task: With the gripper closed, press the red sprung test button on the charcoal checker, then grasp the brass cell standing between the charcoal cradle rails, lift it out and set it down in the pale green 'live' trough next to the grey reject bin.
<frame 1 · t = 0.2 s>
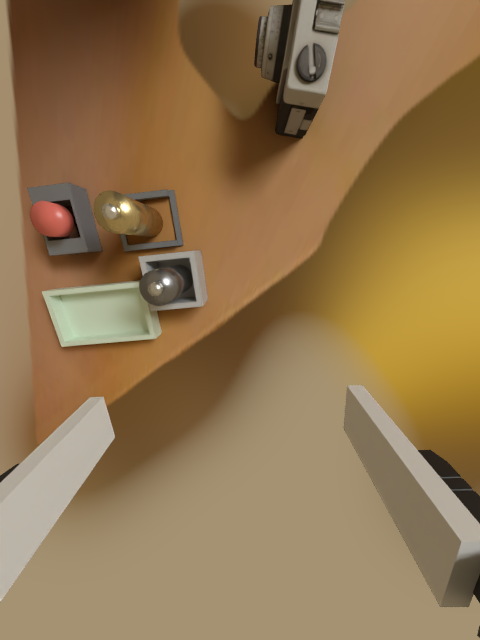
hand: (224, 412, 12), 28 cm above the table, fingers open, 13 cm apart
reject bin: (180, 278, 38), on the table
camera: (286, 72, 30), on the table
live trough: (109, 311, 40), on the table
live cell: (148, 222, 36), on the table
button housing: (76, 223, 36), on the table
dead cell: (179, 278, 37), point 1 cm above the table, touching reject bin
test button: (52, 219, 32), point 4 cm above the table, slide at 0.0 cm
cradle: (148, 222, 35), on the table
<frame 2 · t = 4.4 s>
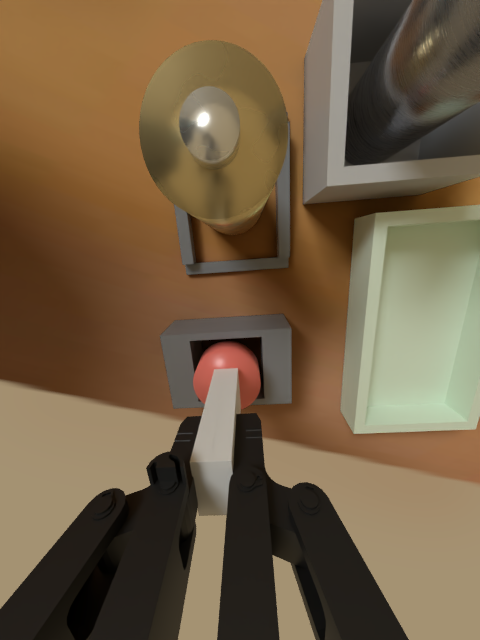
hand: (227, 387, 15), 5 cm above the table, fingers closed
reject bin: (365, 131, 15), on the table
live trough: (406, 323, 19), on the table
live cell: (232, 202, 16), on the table
button housing: (231, 350, 20), on the table
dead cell: (370, 126, 14), point 1 cm above the table, touching reject bin
test button: (227, 375, 16), point 4 cm above the table, slide at 0.3 cm, touching gripper
cradle: (232, 202, 16), on the table
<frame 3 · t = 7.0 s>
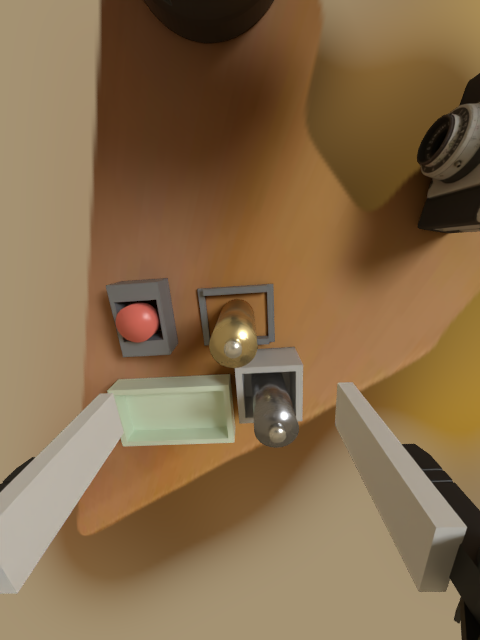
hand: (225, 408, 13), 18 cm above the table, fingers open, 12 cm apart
reject bin: (266, 374, 33), on the table
camera: (441, 160, 25), on the table
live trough: (178, 404, 35), on the table
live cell: (237, 315, 30), on the table
button housing: (151, 313, 30), on the table
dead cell: (266, 376, 32), point 1 cm above the table, touching reject bin
test button: (138, 321, 27), point 4 cm above the table, slide at 0.8 cm
cradle: (237, 315, 30), on the table
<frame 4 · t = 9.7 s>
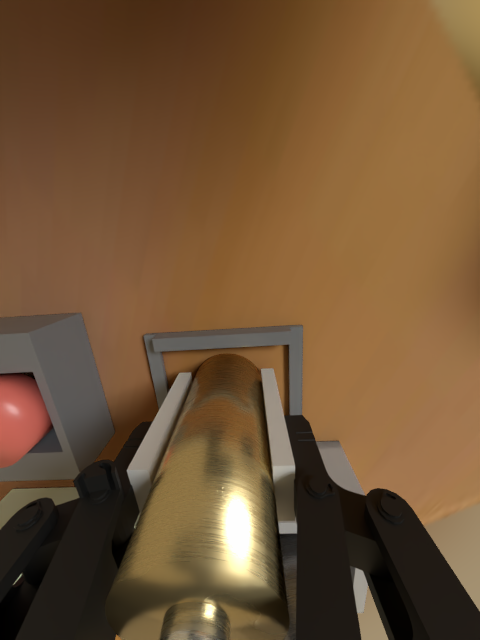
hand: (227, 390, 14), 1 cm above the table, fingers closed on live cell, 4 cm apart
reject bin: (283, 484, 18), on the table
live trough: (125, 527, 19), on the table
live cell: (228, 384, 15), on the table, touching gripper
button housing: (56, 379, 15), on the table
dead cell: (284, 492, 17), point 1 cm above the table, touching reject bin
test button: (0, 418, 12), point 4 cm above the table, slide at 0.8 cm
cradle: (227, 384, 15), on the table
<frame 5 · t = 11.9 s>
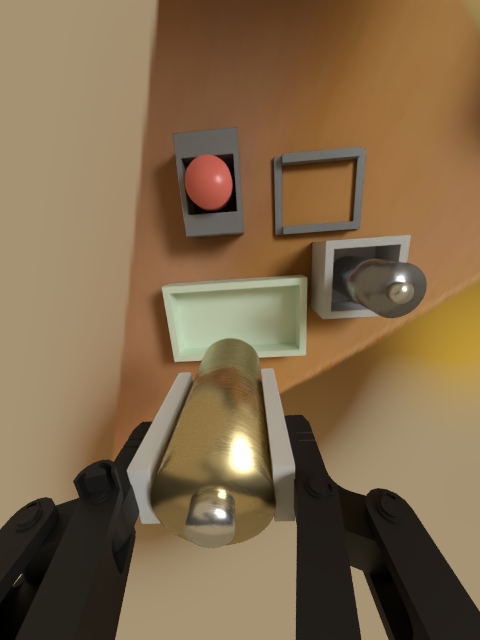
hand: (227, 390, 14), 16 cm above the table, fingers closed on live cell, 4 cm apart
reject bin: (344, 274, 28), on the table
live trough: (237, 315, 30), on the table
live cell: (231, 364, 18), point 13 cm above the table, touching gripper
button housing: (214, 193, 26), on the table
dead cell: (346, 274, 27), point 1 cm above the table, touching reject bin
test button: (209, 185, 22), point 4 cm above the table, slide at 0.8 cm
cradle: (317, 194, 25), on the table
when the fingers open (3 cm above the table, at t = 14.4 s): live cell stays where it is, resting on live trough.
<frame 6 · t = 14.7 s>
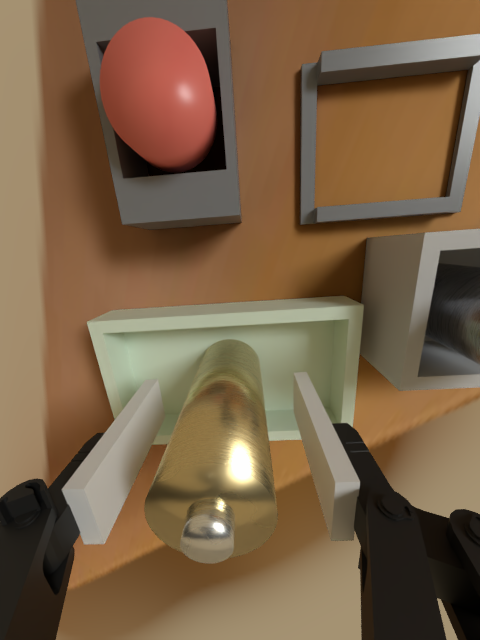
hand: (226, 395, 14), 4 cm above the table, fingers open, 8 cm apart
reject bin: (420, 295, 16), on the table
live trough: (231, 363, 18), on the table
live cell: (230, 366, 17), point 1 cm above the table, touching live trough
button housing: (185, 144, 13), on the table
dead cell: (428, 297, 15), point 1 cm above the table, touching reject bin
test button: (164, 107, 10), point 4 cm above the table, slide at 0.8 cm
cradle: (384, 145, 13), on the table
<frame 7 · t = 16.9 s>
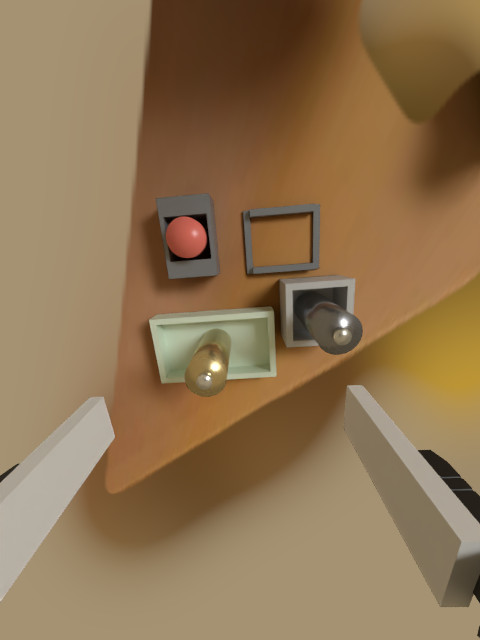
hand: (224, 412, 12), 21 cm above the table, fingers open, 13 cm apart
reject bin: (308, 305, 32), on the table
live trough: (217, 341, 34), on the table
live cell: (216, 342, 33), point 1 cm above the table, touching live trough
button housing: (194, 240, 30), on the table
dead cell: (309, 306, 32), point 1 cm above the table, touching reject bin
test button: (187, 238, 27), point 4 cm above the table, slide at 0.8 cm
cradle: (281, 240, 30), on the table
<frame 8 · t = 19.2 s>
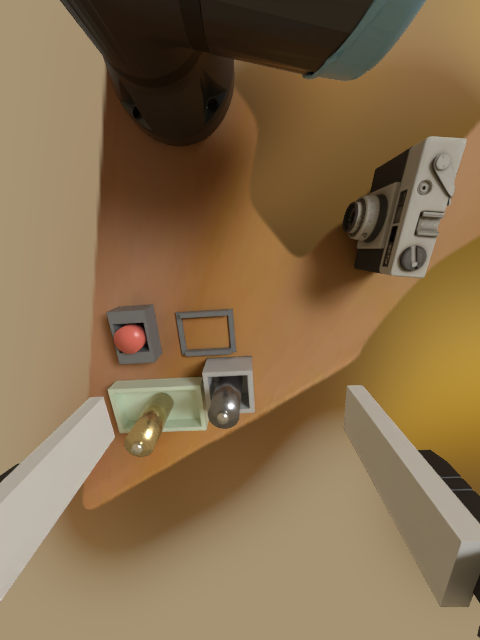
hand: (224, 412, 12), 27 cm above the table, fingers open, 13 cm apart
reject bin: (231, 376, 42), on the table
camera: (365, 221, 34), on the table
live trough: (163, 400, 44), on the table
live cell: (162, 402, 44), point 1 cm above the table, touching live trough
button housing: (141, 330, 40), on the table
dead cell: (230, 378, 41), point 1 cm above the table, touching reject bin
test button: (130, 338, 36), point 4 cm above the table, slide at 0.8 cm
cradle: (206, 332, 40), on the table
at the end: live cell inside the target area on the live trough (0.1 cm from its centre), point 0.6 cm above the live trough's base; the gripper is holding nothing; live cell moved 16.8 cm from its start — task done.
